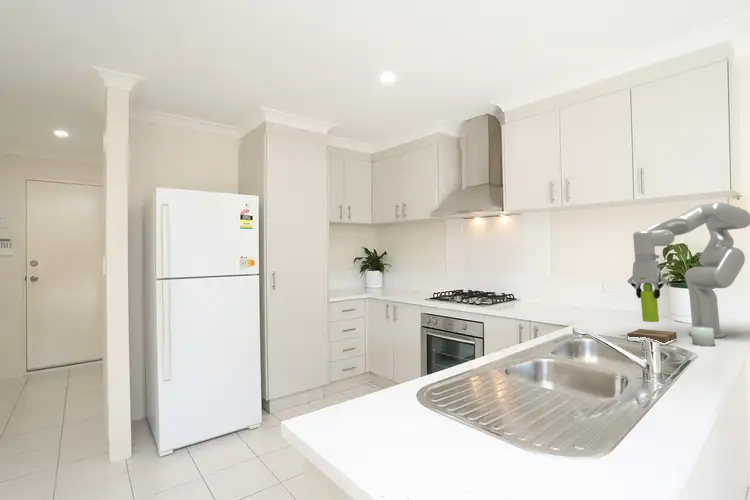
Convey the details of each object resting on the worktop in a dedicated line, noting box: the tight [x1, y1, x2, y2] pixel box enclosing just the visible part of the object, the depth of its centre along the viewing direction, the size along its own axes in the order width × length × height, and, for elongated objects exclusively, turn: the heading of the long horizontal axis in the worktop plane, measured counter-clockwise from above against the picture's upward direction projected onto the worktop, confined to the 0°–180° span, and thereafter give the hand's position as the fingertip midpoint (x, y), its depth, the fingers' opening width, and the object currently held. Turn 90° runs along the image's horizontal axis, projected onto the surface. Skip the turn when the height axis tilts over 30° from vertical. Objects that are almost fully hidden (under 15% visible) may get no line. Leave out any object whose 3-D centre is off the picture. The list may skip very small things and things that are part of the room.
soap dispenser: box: [640, 277, 660, 323], centre depth 170 cm, size 6×7×20 cm
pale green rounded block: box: [690, 326, 716, 347], centre depth 158 cm, size 7×7×7 cm
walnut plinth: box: [627, 328, 678, 343], centre depth 169 cm, size 14×14×4 cm
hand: (648, 297), depth 170 cm, fingers closed on soap dispenser, 5 cm apart
